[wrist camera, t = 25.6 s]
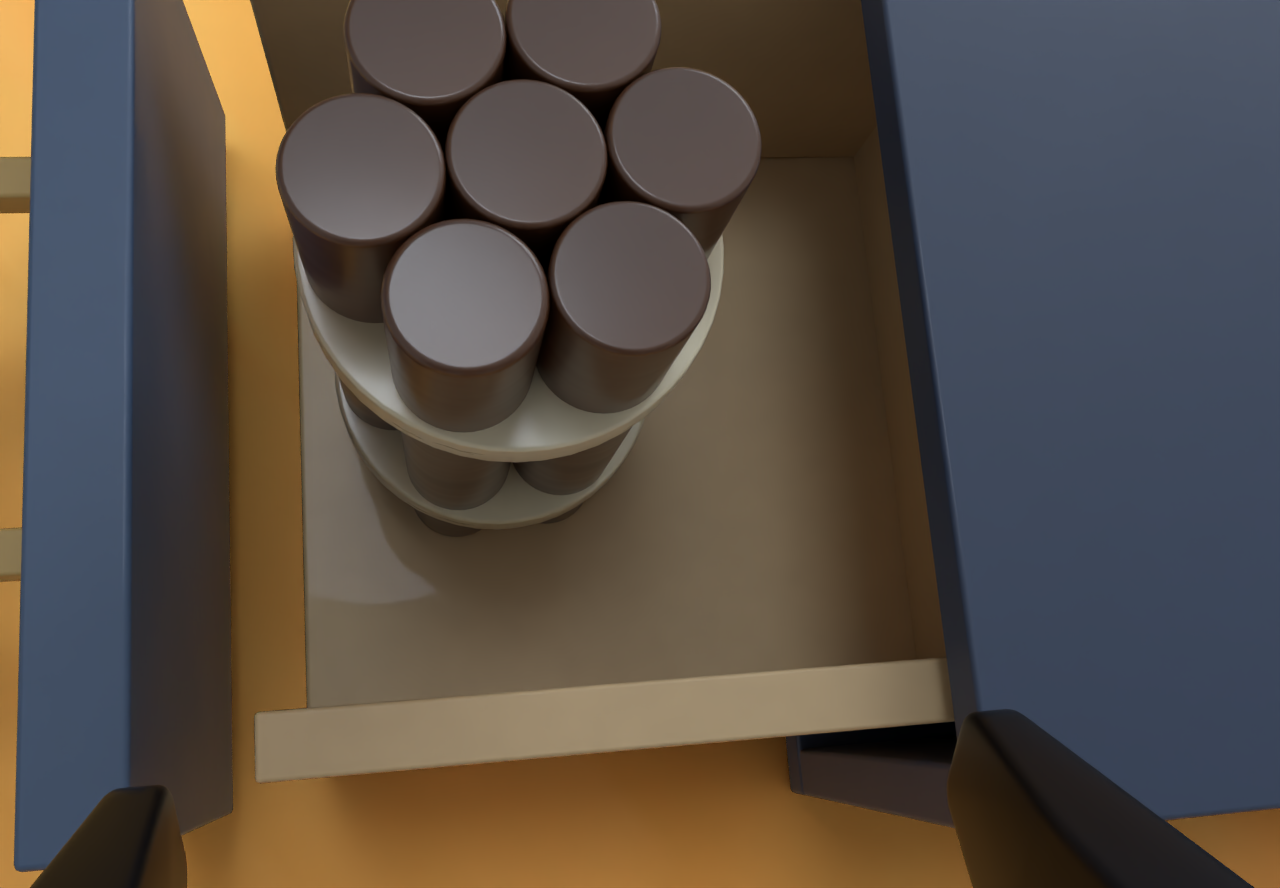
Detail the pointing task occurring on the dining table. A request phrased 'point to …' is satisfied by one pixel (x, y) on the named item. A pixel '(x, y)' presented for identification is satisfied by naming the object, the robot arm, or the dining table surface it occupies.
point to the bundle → (510, 243)
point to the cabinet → (1088, 387)
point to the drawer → (390, 528)
